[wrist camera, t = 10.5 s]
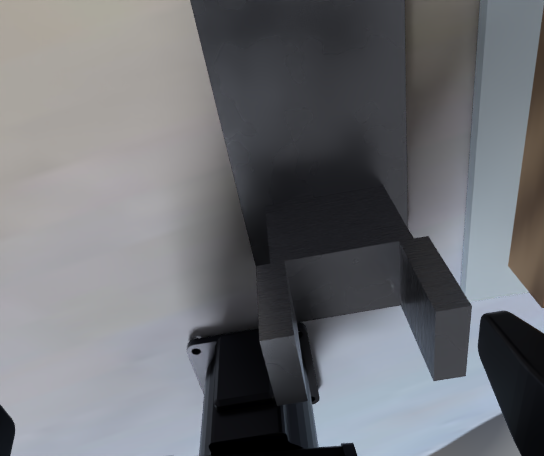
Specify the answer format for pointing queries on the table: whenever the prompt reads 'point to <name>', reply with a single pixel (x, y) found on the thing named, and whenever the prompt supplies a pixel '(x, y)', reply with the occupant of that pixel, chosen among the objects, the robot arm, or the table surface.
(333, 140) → the dark grey u-shaped stand
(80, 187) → the table surface
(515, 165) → the blue-grey mat
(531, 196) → the walnut bar
